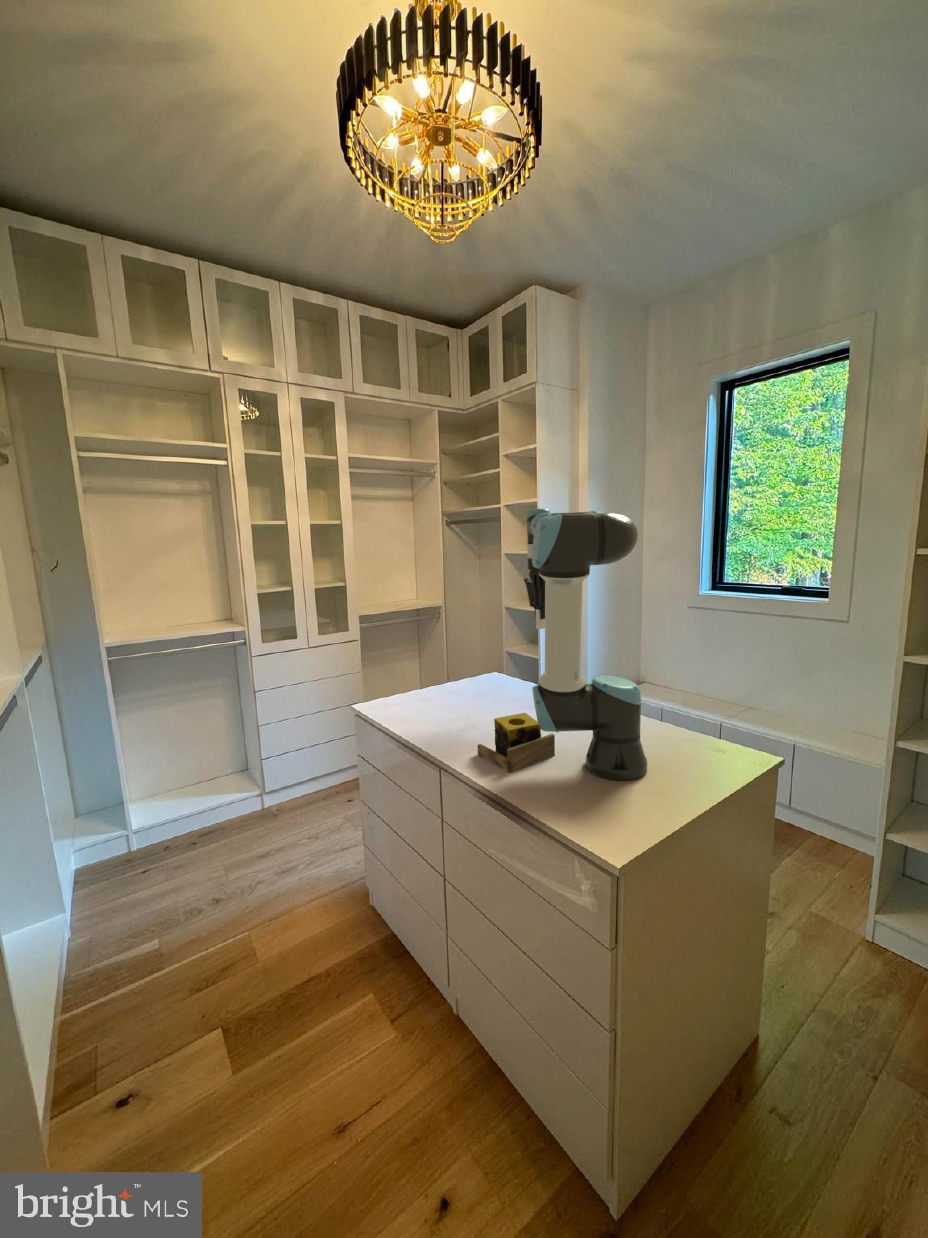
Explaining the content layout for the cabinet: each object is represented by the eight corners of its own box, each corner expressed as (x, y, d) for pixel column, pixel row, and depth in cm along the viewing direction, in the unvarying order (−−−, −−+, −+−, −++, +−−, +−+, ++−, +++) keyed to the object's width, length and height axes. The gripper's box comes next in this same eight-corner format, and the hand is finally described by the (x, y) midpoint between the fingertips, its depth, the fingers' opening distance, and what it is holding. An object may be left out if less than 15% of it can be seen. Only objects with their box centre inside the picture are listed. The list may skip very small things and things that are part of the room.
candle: (526, 744, 145) (525, 712, 143) (543, 758, 135) (542, 723, 134) (494, 751, 141) (493, 717, 140) (509, 765, 132) (508, 729, 130)
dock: (554, 755, 136) (554, 734, 135) (510, 772, 127) (509, 750, 127) (521, 740, 148) (520, 720, 147) (477, 754, 139) (477, 734, 138)
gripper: (561, 556, 159) (562, 629, 162) (534, 556, 169) (535, 624, 173) (544, 558, 154) (546, 632, 158) (517, 557, 165) (519, 627, 169)
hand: (540, 628), depth 166 cm, fingers closed
